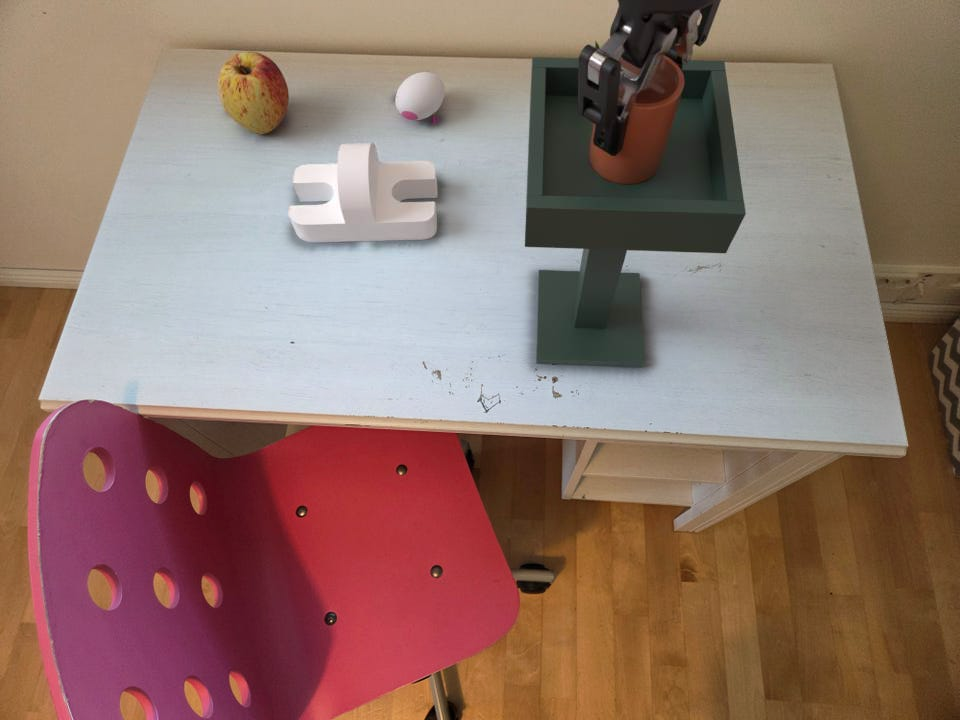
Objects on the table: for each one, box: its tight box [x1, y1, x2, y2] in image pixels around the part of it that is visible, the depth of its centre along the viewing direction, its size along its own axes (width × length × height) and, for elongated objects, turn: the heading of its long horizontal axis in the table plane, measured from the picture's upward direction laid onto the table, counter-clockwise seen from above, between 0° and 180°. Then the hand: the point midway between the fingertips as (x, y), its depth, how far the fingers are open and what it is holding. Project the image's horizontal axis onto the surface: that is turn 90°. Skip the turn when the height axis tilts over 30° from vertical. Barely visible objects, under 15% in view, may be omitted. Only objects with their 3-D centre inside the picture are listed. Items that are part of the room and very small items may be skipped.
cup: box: [589, 55, 684, 184], centre depth 53 cm, size 6×6×8 cm
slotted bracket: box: [287, 142, 439, 243], centre depth 85 cm, size 18×10×10 cm, turn 91°
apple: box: [217, 51, 290, 135], centre depth 92 cm, size 9×9×10 cm
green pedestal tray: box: [524, 56, 747, 368], centre depth 68 cm, size 16×16×30 cm
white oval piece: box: [394, 71, 446, 124], centre depth 95 cm, size 8×8×7 cm
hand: (633, 123), depth 54 cm, fingers closed on cup, 6 cm apart
